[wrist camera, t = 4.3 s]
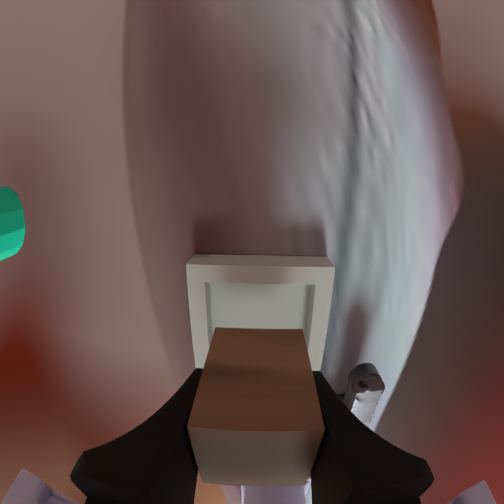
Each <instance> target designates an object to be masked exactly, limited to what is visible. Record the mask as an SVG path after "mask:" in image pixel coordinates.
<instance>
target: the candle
mask: <svg viewBox="0 0 504 504" xmlns="http://www.w3.org/2000/svg"><path fill="white" fill-rule="evenodd" d="M25 229H26V227H25V219H24V211H23V207H22V204H21V203H20V200H19V198H18V196H17V193H16V192H14V191H13V190H12V189H10V188H9V187H8V186H7V187H1V188H0V261H1V260H3V259H5V258H8V257H10V256H12V255H14V254H16V253H17V252H18V250H19V249H20V248H21V246H22V245H23V241H24V234H25Z"/></svg>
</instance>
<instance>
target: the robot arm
mask: <svg viewBox="0 0 504 504" xmlns="http://www.w3.org/2000/svg"><path fill="white" fill-rule="evenodd" d="M202 371H203V368H196V369H195V370H194V371H193V372H192V374H191V375H190V376H189V378H188V379H187V380H186V381H185V383H184V384H183V385H182V386H181V387H180V388H179V390H178V391H177V392H176V393H175V394H174V395H173V396H172V397H171V398H170V399H169V400H168V401H167V402H166V403H165V404H164V405H163V406H162V407H161V408H160V409H159V410H158V411H157V412H156V413H154V414H153V415H152V416H151V417H150V418H148V419H147V420H146V421H144V422H143V423H142V424H140V425H139V426H137V427H136V428H134V429H133V430H131V431H130V432H128V433H126V434H125V435H123V436H121V437H119V438H117V439H115V440H113V441H111V442H108V443H106V444H104V445H101V446H99V447H96V448H93V449H90V450H87V451H84V452H83V453H82V455H81V456H80V457H79V459H78V461H77V463H76V465H75V466H74V469H73V470H72V472H71V474H70V477H71V480H72V481H73V483H74V484H75V485H76V486H77V487H78V488H79V489H80V490H81V491H82V492H83V493H84V494H85V495H86V496H87V499H86V501H85V504H194V497H195V489H196V481H197V474H198V466H197V463H196V459H195V456H194V452H193V448H192V444H191V440H190V436H189V432H188V428H187V424H188V421H189V417H190V414H191V410H192V407H193V403H194V399H195V396H196V392H197V389H198V385H199V382H200V378H201V375H202ZM312 372H313V377H314V381H315V386H316V390H317V395H318V399H319V404H320V409H321V413H322V418H323V423H324V428H325V430H324V434H323V437H322V440H321V443H320V446H319V449H318V452H317V455H316V458H315V461H314V464H313V467H312V469H311V477H310V476H309V477H308V480H307V483H306V485H297V486H241V501H242V504H306V501H305V496H306V493H307V491H308V489H309V486H310V484H311V488H312V504H421V501H420V499H419V497H420V496H421V495H422V494H423V493H424V492H425V491H426V490H427V489H428V488H429V486H430V485H431V484H432V483H433V481H434V477H433V474H432V472H431V469H430V467H429V465H428V464H427V462H426V460H424V459H422V458H419V457H417V456H414V455H412V454H410V453H407V452H405V451H403V450H401V449H400V448H398V447H396V446H393V445H392V444H391V443H389V442H388V441H386V440H384V439H383V438H381V437H380V436H379V435H377V434H376V433H374V432H373V431H372V430H371V429H369V428H368V427H367V426H366V425H365V424H364V423H362V422H361V421H360V420H359V419H358V418H357V417H356V416H355V415H354V414H353V413H352V412H351V411H350V410H349V409H348V407H347V406H346V405H345V404H344V403H343V402H342V400H341V399H340V398H339V397H338V396H337V394H336V393H335V392H334V390H333V389H332V388H331V386H330V385H329V384H328V382H327V381H326V379H325V378H324V376H323V375H322V373H321V372H320V371H312ZM2 504H80V503H78V502H76V501H73V500H71V499H69V498H67V497H65V496H63V495H61V494H59V493H57V492H55V491H54V490H52V489H51V487H50V486H49V485H48V484H47V483H45V482H44V481H43V480H41V479H40V478H38V477H37V476H35V475H33V474H31V473H30V472H28V471H27V470H25V469H21V471H20V472H19V474H18V476H17V477H16V479H15V480H14V482H13V484H12V486H11V487H10V489H9V490H8V492H7V494H6V496H5V497H4V499H3V501H2ZM447 504H496V502H495V500H494V498H493V496H492V494H491V492H490V490H489V488H488V486H487V484H486V482H485V481H482V482H480V483H478V484H476V485H474V486H472V487H471V488H469V489H467V490H465V491H464V492H462V493H461V494H459V495H458V496H457V497H456V498H455V499H454V500H453V501H451V502H449V503H447Z"/></svg>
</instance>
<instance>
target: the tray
mask: <svg viewBox="0 0 504 504" xmlns="http://www.w3.org/2000/svg"><path fill="white" fill-rule="evenodd" d="M186 273H187V287H188V300H189V311H190V322H191V332H192V341H193V350H194V359H195V367H196V368H204V364H205V361H206V357H207V354H208V351H209V347H210V344H211V340H212V337H213V333H214V330H215V327H224V328H253V329H303V333H304V337H305V342H306V346H307V350H308V355H309V359H310V363H311V368H312V371H320V369H321V364H322V358H323V353H324V347H325V340H326V334H327V328H328V321H329V314H330V306H331V299H332V291H333V282H334V273H335V266H334V265H333V264H332V262H331V261H330V260H329V258H328V257H321V256H267V255H217V254H194V255H193V256H192V257H191V259H190V260H189V261H188V262H187V264H186Z"/></svg>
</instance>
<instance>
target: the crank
mask: <svg viewBox="0 0 504 504" xmlns="http://www.w3.org/2000/svg"><path fill="white" fill-rule="evenodd" d="M348 379H349V382H348V385H347V389H346V393H345V396H344V400H343V403H344V404H345V405H346V406H347V407H348V409H349V410H350V411H351V412H352V413H353V414H354V415H355V416H356V417H357V418H358V419H359V420H360V421H361V422H362V423H364V424H365V425H366V426H367V427H368V425H369V423H370V421H371V418H372V416H373V414H374V411H375V409H376V406H377V404H378V401H379V399H380V396H381V394H382V393H383V391H384V389H385V385H384V383H383V381H382V379H381V377H380V375H379V373H378V371H377V369H376V367H375V366H374V365H373V364H371V363H363V364H360V365H358V366H356V367H355V368H354V369H353V370H352V371H351V372H350V374H349V377H348Z"/></svg>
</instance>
